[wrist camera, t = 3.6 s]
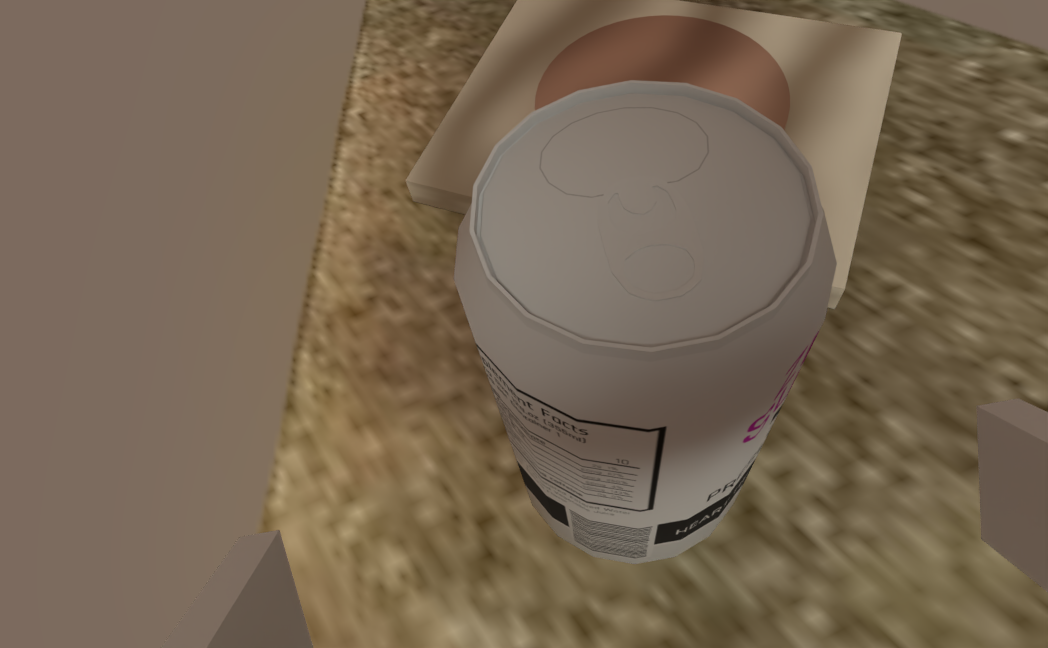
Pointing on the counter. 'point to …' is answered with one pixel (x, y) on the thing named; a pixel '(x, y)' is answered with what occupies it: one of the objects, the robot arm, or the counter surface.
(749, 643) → the counter surface
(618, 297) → the supplement can
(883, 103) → the mount board
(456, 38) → the counter surface
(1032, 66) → the counter surface
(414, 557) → the counter surface
